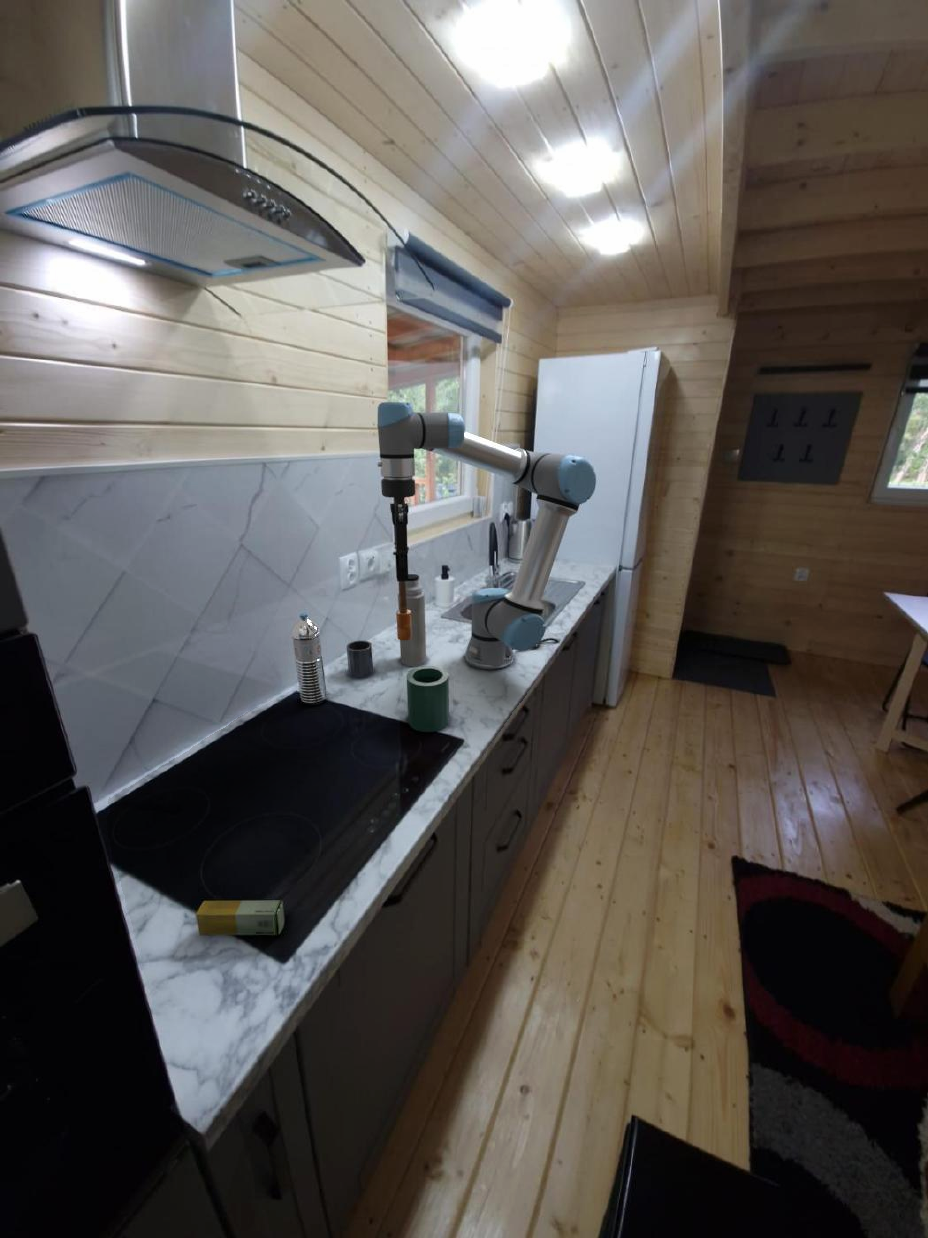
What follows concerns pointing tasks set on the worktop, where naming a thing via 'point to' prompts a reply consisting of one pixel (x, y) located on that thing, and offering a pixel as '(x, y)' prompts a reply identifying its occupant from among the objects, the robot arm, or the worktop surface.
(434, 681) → the jar
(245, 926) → the medication box
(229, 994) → the worktop surface
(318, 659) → the water bottle
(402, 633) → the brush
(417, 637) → the thermos bottle
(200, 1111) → the worktop surface
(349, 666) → the holder
